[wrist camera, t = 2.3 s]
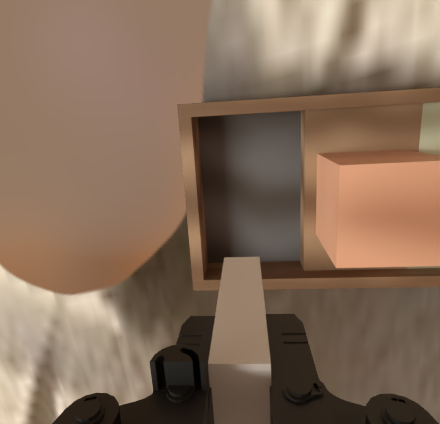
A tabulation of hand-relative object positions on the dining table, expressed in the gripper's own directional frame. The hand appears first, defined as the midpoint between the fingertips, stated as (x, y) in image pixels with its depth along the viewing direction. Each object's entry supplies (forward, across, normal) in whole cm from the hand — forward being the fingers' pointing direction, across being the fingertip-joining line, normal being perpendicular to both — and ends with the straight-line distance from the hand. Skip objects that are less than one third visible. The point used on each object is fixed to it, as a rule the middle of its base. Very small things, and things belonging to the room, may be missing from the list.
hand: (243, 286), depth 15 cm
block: (+16, +10, 0) cm, 18 cm away
